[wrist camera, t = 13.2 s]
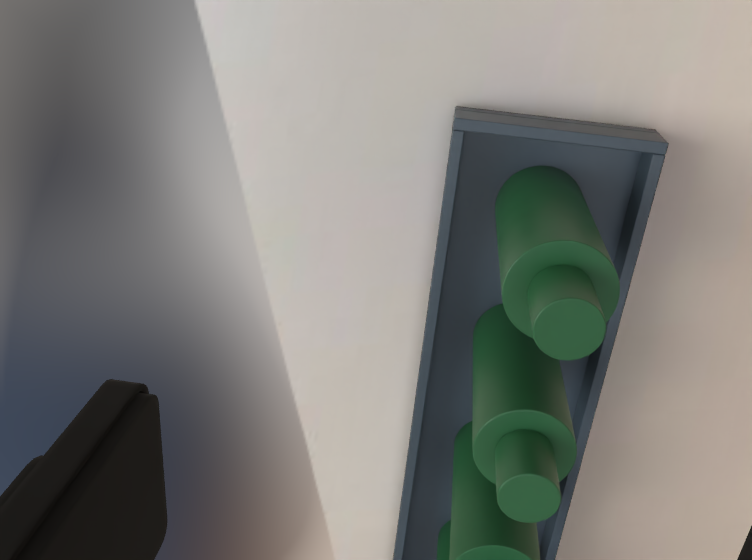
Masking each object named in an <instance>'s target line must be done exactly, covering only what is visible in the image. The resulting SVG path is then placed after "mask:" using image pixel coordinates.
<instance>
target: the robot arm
mask: <svg viewBox="0 0 752 560" xmlns="http://www.w3.org/2000/svg"><path fill="white" fill-rule="evenodd" d="M166 528H167V509H166V497H165V482H164V470H163V455H162V441H161V429H160V414H159V402H158V398H157V396H156V395H153V394H149V392H148V388H147V386H146V385H144V384H141V383H134V382H126V381H119V380H113V379H110V380H107V381H106V382H105V383H103V385H102V386H101V387H100V388H99V389H98V391H97V392H96V393H95V394H94V395H93V397H92V398H91V399H90V400H89V401H88V403H87V404H86V405H85V406H84V408H83V409H82V410H81V411H80V412H79V414H78V415H77V416H76V417H75V418H74V420H73V421H72V422H71V423H70V424H69V426H68V427H67V428H66V429H65V431H64V432H63V433H62V434H61V435H60V436H59V438H58V439H57V440H56V441H55V443H54V444H53V445H52V446H51V447H50V449H49V450H48V451H47V452H46V453H45V455H44V456H39V457H36V458H34V459H33V460H32V461H31V462H30V463H29V464H27V466H26V467H25V468H24V469H23V470H22V471H21V473H20V474H19V475H18V476H17V477H16V479H15V480H14V481H13V482H12V483H11V484H10V486H9V487H8V488H7V489H6V490H5V491H4V493H3V494H2V495H1V496H0V560H154V559H155V557H156V555H157V553H158V551H159V549H160V547H161V545H162V543H163V540H164V537H165V534H166ZM738 560H752V526H751V529H750V531H749V533H748V536H747V538H746V541H745V543H744V545H743V548H742V550H741V552H740V555H739V557H738Z"/></svg>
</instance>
